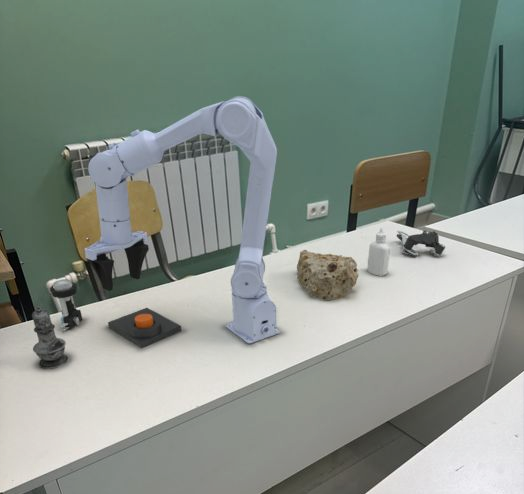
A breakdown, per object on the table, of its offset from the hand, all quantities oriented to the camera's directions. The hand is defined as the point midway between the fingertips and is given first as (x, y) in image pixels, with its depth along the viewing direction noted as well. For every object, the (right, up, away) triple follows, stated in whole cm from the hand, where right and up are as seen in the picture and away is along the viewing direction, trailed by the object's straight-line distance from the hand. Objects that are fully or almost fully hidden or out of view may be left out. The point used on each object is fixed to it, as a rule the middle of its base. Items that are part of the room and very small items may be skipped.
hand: (121, 283), depth 99 cm
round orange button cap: (+5, -9, 0) cm, 10 cm away
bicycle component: (+76, +16, +45) cm, 90 cm away
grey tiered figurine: (-11, -16, -6) cm, 21 cm away
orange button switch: (+4, -9, +4) cm, 11 cm away
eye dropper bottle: (+60, +7, +30) cm, 67 cm away
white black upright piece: (-13, -9, +7) cm, 17 cm away
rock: (+46, +3, +24) cm, 52 cm away
